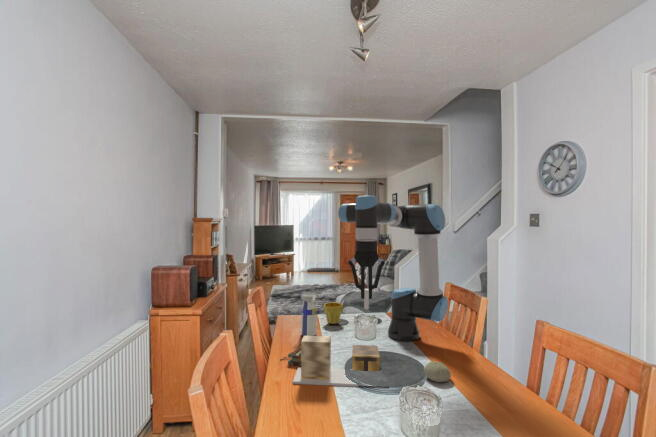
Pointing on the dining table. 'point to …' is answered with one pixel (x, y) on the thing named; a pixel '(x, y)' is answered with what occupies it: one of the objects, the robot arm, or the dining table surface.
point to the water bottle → (309, 314)
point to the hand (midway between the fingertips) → (366, 308)
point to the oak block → (316, 357)
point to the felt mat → (335, 379)
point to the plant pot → (333, 312)
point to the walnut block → (365, 358)
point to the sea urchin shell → (437, 372)
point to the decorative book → (294, 357)
